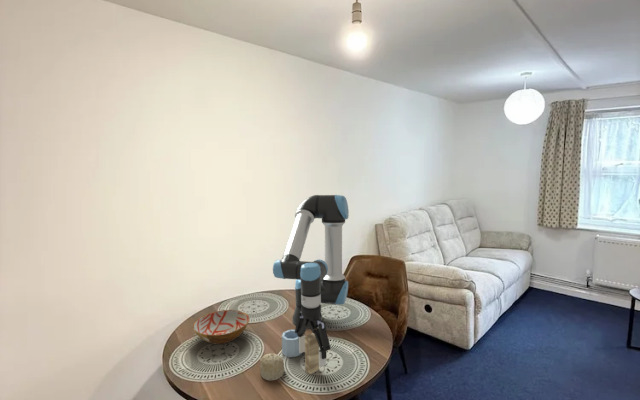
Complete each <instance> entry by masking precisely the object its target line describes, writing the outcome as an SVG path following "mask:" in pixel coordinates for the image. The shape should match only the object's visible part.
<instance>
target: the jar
mask: <svg viewBox="0 0 640 400" xmlns="http://www.w3.org/2000/svg"><path fill="white" fill-rule="evenodd" d="M298 341H299V339H298V335H297V333H295V329H288V330H286V331H283V332H282V335H281V352H282V355H283V356H284V357H287V358H297V357H299V356H301V355H302V354H303V353H299V342H298Z"/></svg>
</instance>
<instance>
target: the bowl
mask: <svg viewBox="0 0 640 400" xmlns="http://www.w3.org/2000/svg"><path fill="white" fill-rule="evenodd" d="M249 322H250V316H249V315H248V314H247V313H246V312H244V311H241V310H238V309H237V310H236V309H226V310H217V311H213V312H210V313H207V314H205V315H202V316H201V317H199V318H197V319H196V320H195V321H194V323H192V329H193V331H194V333H195V334H196V335H197V336H198V338H200V340H203V341H205V343H209V344H213V345H224V343H225V344H228V343H230V342H232V341H234V340H235V339H237V338H238V337H240V336H241V335H242V333H243V332H244V331H245V330H246V328H247V326H248V324H249Z"/></svg>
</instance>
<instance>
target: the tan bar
mask: <svg viewBox="0 0 640 400" xmlns="http://www.w3.org/2000/svg"><path fill="white" fill-rule="evenodd" d="M319 350H320V347H319V345H318V342H317V340H316V337H315V334H314V333H313V332H312V333H309V334H308V335H305V352H304V369H305V372H306V373H307V374H308V375H312V374H314V373H316V372H318V371H319V370H320V367H319Z"/></svg>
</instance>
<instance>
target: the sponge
mask: <svg viewBox="0 0 640 400" xmlns="http://www.w3.org/2000/svg"><path fill="white" fill-rule="evenodd" d="M259 364H260V366H259V369H260V376H261V378H262V379H264V380H266V381H270V382H271V381H277V380H279V379H280V378H282V377H283V375H284V374H285V363H284V359H283V358H282V356H281V355H279V354H276V353H265V354H263V356H262V357H261V359H260V363H259Z"/></svg>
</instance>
